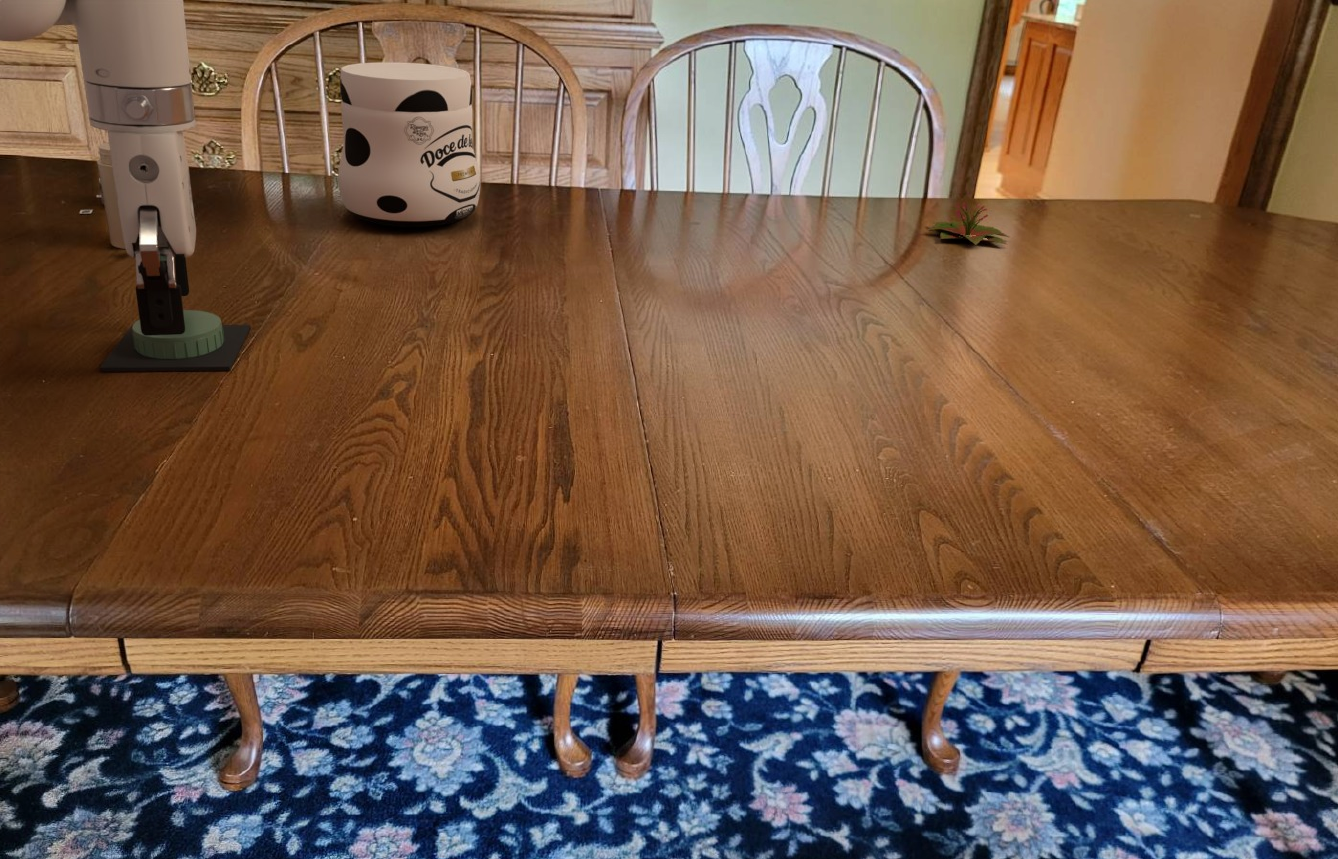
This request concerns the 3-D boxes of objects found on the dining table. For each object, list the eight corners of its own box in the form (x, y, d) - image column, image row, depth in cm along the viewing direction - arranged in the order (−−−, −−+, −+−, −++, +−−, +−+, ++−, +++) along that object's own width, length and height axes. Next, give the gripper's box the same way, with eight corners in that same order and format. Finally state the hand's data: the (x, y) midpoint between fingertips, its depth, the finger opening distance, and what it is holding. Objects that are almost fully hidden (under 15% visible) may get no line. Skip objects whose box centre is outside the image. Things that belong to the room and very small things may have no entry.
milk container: (484, 237, 128) (483, 84, 121) (336, 236, 125) (325, 78, 117) (477, 202, 144) (475, 64, 136) (345, 200, 140) (335, 58, 132)
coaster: (99, 372, 86) (99, 367, 85) (132, 328, 94) (132, 324, 94) (230, 370, 88) (229, 366, 87) (250, 328, 96) (250, 324, 96)
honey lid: (231, 329, 95) (228, 309, 94) (215, 359, 89) (212, 338, 88) (146, 329, 93) (143, 309, 93) (124, 359, 87) (121, 338, 86)
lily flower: (1001, 229, 149) (1008, 197, 147) (1021, 253, 138) (1028, 218, 136) (916, 222, 149) (922, 190, 147) (929, 245, 139) (935, 211, 137)
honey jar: (103, 249, 115) (86, 150, 110) (119, 233, 120) (104, 138, 116) (166, 250, 116) (152, 152, 111) (179, 234, 121) (166, 140, 117)
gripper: (190, 127, 76) (213, 348, 83) (197, 90, 91) (216, 281, 98) (73, 124, 74) (107, 353, 81) (99, 87, 88) (126, 283, 95)
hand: (167, 313), depth 89 cm, fingers open, 9 cm apart
